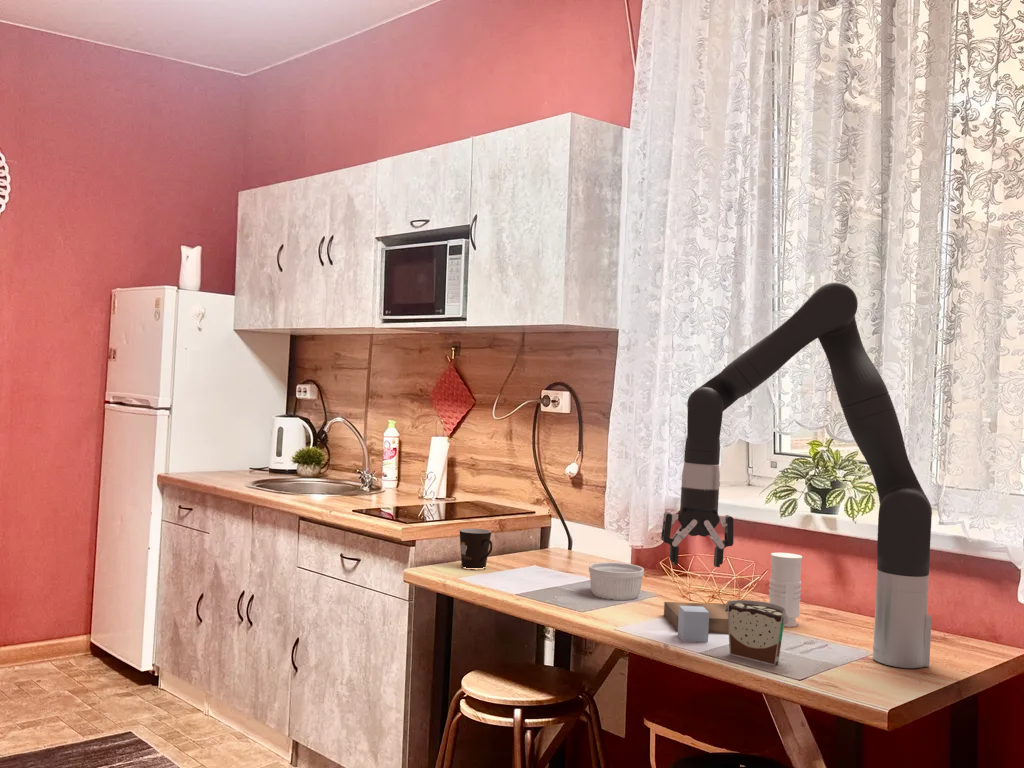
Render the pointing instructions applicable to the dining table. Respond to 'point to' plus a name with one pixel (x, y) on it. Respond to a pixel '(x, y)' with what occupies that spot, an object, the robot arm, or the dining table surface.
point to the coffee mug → (475, 547)
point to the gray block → (693, 623)
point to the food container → (755, 630)
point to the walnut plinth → (716, 611)
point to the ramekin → (616, 580)
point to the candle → (786, 584)
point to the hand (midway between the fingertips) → (695, 565)
